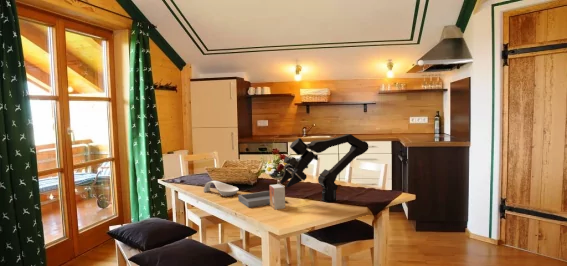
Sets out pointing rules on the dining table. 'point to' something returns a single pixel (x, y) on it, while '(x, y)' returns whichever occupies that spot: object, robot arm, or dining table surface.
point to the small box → (277, 196)
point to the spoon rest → (222, 188)
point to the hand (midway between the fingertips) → (283, 184)
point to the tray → (255, 199)
